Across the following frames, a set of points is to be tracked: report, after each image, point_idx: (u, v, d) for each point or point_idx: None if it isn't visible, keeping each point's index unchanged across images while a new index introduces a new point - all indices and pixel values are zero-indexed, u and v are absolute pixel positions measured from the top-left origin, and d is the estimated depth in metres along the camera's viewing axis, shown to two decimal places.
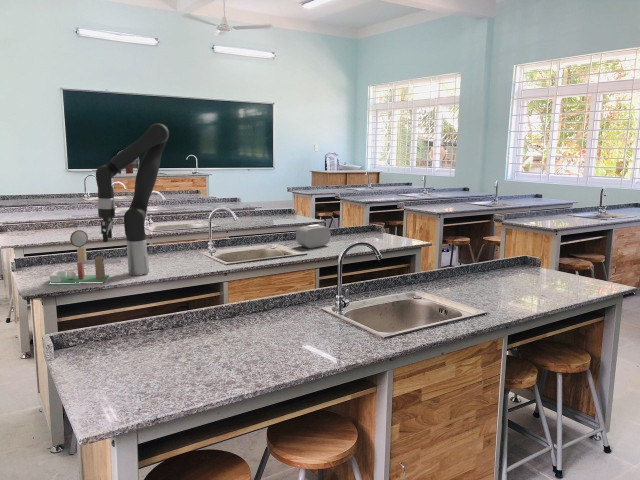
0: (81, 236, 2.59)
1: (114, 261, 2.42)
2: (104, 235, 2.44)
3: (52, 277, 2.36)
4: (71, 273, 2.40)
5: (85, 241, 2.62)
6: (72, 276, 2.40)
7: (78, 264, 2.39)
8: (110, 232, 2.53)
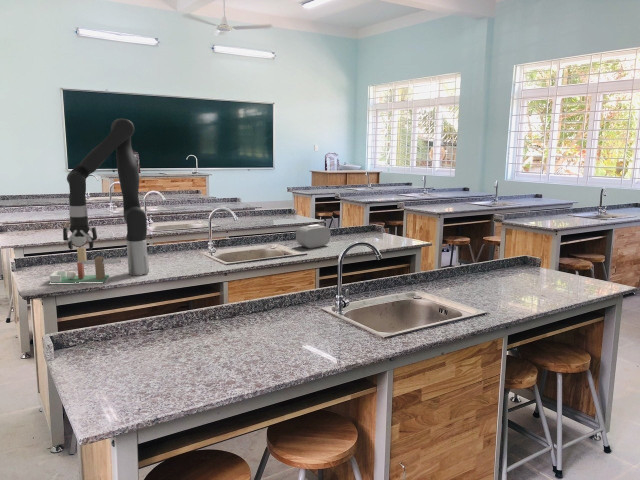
0: None
1: (114, 261, 2.42)
2: (92, 242, 2.39)
3: (52, 277, 2.36)
4: (71, 273, 2.40)
5: (85, 241, 2.62)
6: (72, 276, 2.40)
7: (78, 264, 2.39)
8: (72, 243, 2.39)
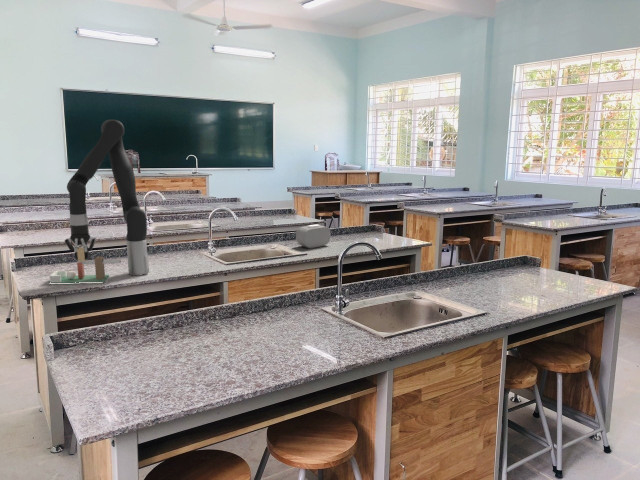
0: None
1: (114, 261, 2.42)
2: (88, 252, 2.40)
3: (52, 277, 2.36)
4: (71, 273, 2.40)
5: None
6: (72, 276, 2.40)
7: (78, 264, 2.39)
8: None
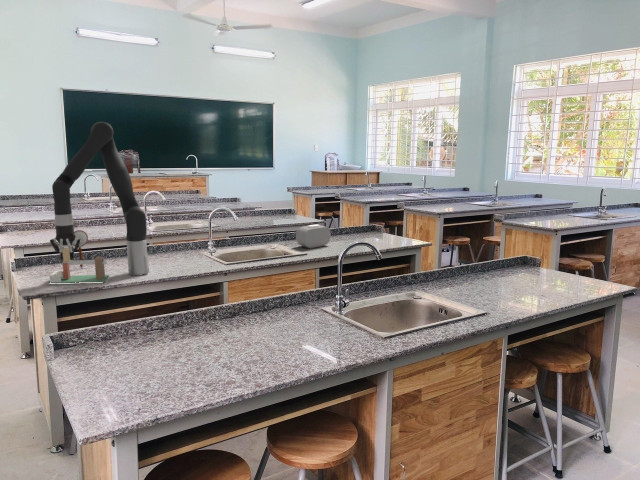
0: (81, 236, 2.59)
1: None
2: (73, 252, 2.39)
3: (52, 277, 2.36)
4: None
5: (85, 241, 2.62)
6: (57, 274, 2.39)
7: (63, 264, 2.38)
8: None
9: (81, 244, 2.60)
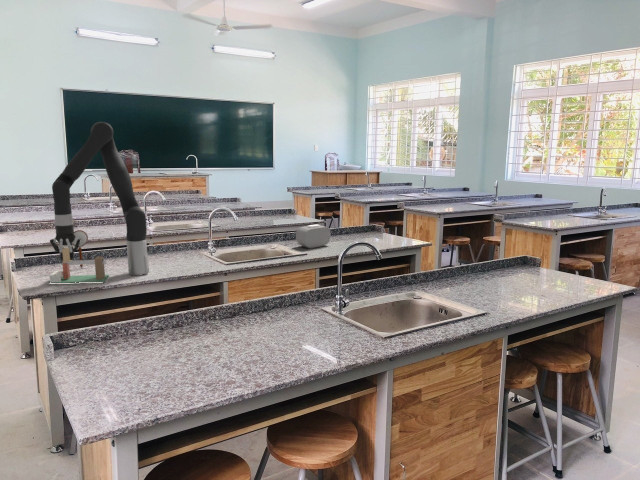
0: (81, 236, 2.59)
1: None
2: (73, 252, 2.39)
3: (52, 277, 2.36)
4: None
5: (85, 241, 2.62)
6: (57, 274, 2.39)
7: (63, 264, 2.38)
8: None
9: (81, 244, 2.60)
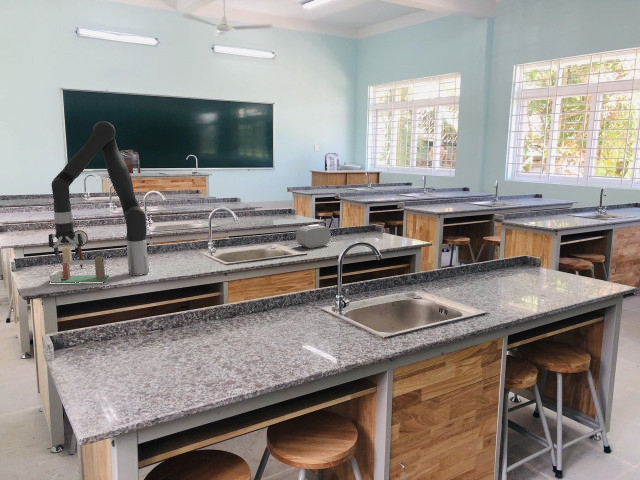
0: None
1: None
2: (78, 248, 2.39)
3: (52, 277, 2.36)
4: None
5: (85, 241, 2.62)
6: (57, 274, 2.39)
7: (63, 264, 2.38)
8: (58, 249, 2.39)
9: None
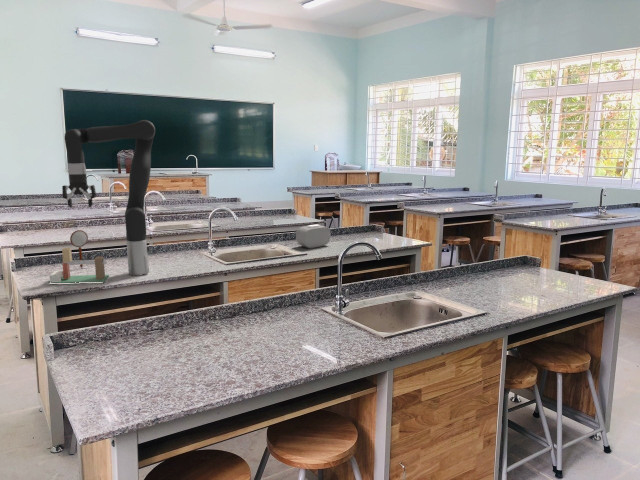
0: (81, 236, 2.59)
1: None
2: (91, 199, 2.43)
3: (52, 277, 2.36)
4: None
5: (85, 241, 2.62)
6: (57, 274, 2.39)
7: (63, 264, 2.38)
8: (71, 201, 2.42)
9: (81, 244, 2.60)
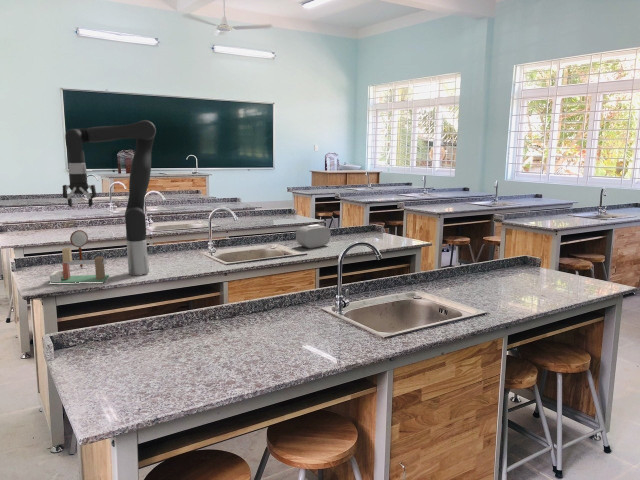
0: (81, 236, 2.59)
1: None
2: (91, 199, 2.43)
3: (52, 277, 2.36)
4: None
5: (85, 241, 2.62)
6: (57, 274, 2.39)
7: (63, 264, 2.38)
8: (71, 200, 2.42)
9: (81, 244, 2.60)
